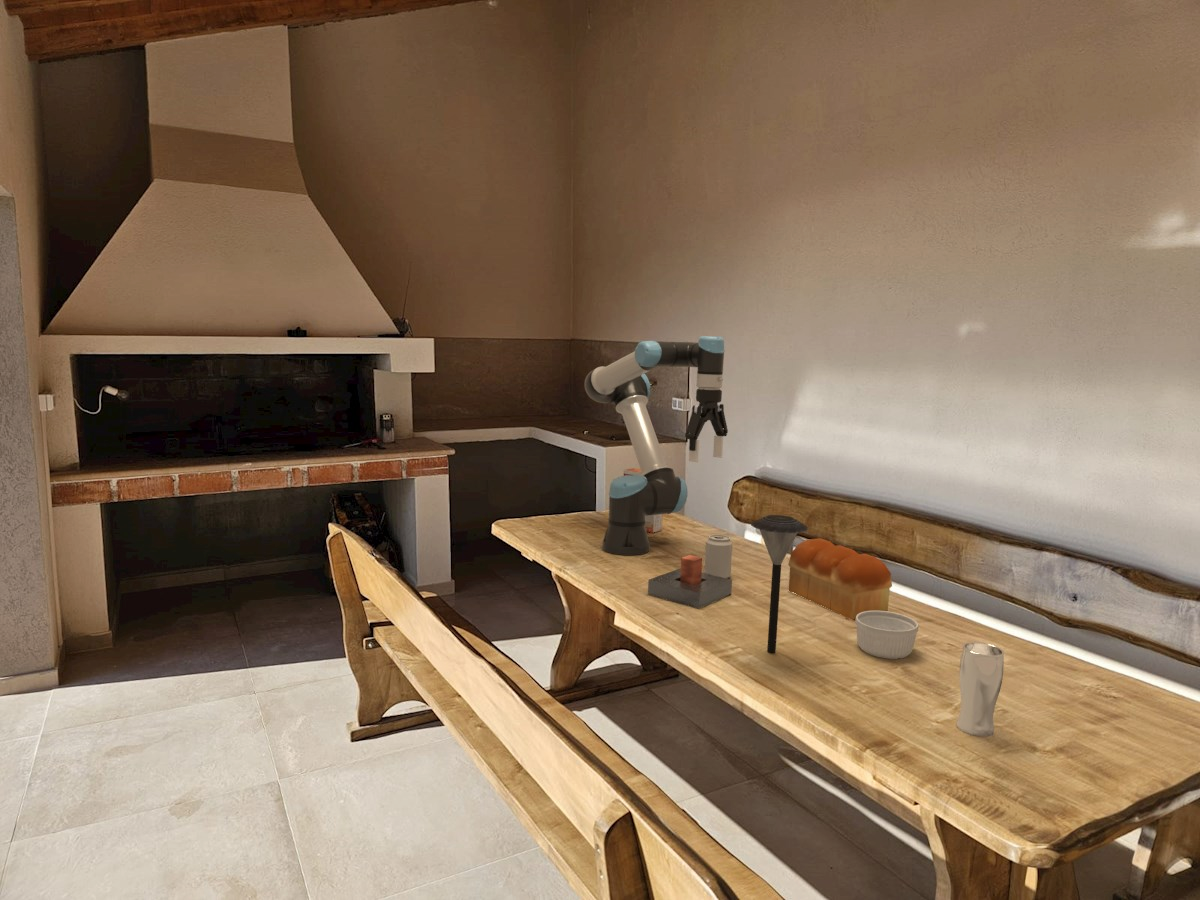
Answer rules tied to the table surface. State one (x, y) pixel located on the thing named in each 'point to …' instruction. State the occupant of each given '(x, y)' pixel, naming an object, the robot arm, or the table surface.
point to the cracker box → (651, 521)
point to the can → (718, 556)
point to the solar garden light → (777, 559)
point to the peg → (691, 569)
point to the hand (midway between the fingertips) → (705, 459)
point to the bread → (839, 578)
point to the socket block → (689, 589)
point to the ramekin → (886, 634)
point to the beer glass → (979, 687)
